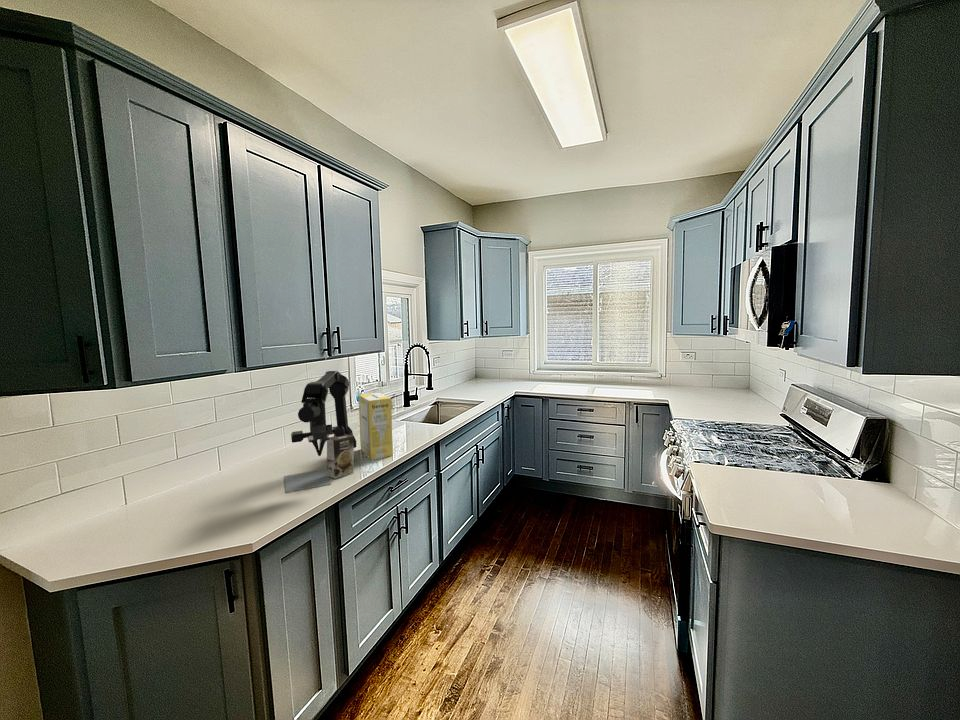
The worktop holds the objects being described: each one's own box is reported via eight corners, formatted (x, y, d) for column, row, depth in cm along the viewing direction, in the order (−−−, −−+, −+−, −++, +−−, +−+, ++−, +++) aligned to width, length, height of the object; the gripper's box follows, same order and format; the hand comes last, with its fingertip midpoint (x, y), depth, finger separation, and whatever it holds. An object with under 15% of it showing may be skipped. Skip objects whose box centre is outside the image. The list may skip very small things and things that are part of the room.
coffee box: (335, 479, 162) (334, 440, 161) (326, 475, 166) (325, 437, 164) (354, 473, 169) (354, 435, 168) (345, 469, 173) (345, 433, 172)
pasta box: (360, 449, 201) (358, 394, 198) (381, 445, 206) (379, 392, 203) (371, 459, 185) (368, 400, 182) (392, 455, 191) (391, 398, 188)
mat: (284, 476, 166) (284, 475, 166) (325, 469, 173) (325, 469, 173) (285, 492, 150) (285, 492, 150) (330, 484, 157) (330, 483, 157)
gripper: (291, 423, 140) (293, 466, 141) (346, 417, 148) (348, 458, 150) (290, 417, 149) (292, 457, 151) (341, 411, 158) (343, 449, 160)
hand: (319, 455), depth 153 cm, fingers closed
